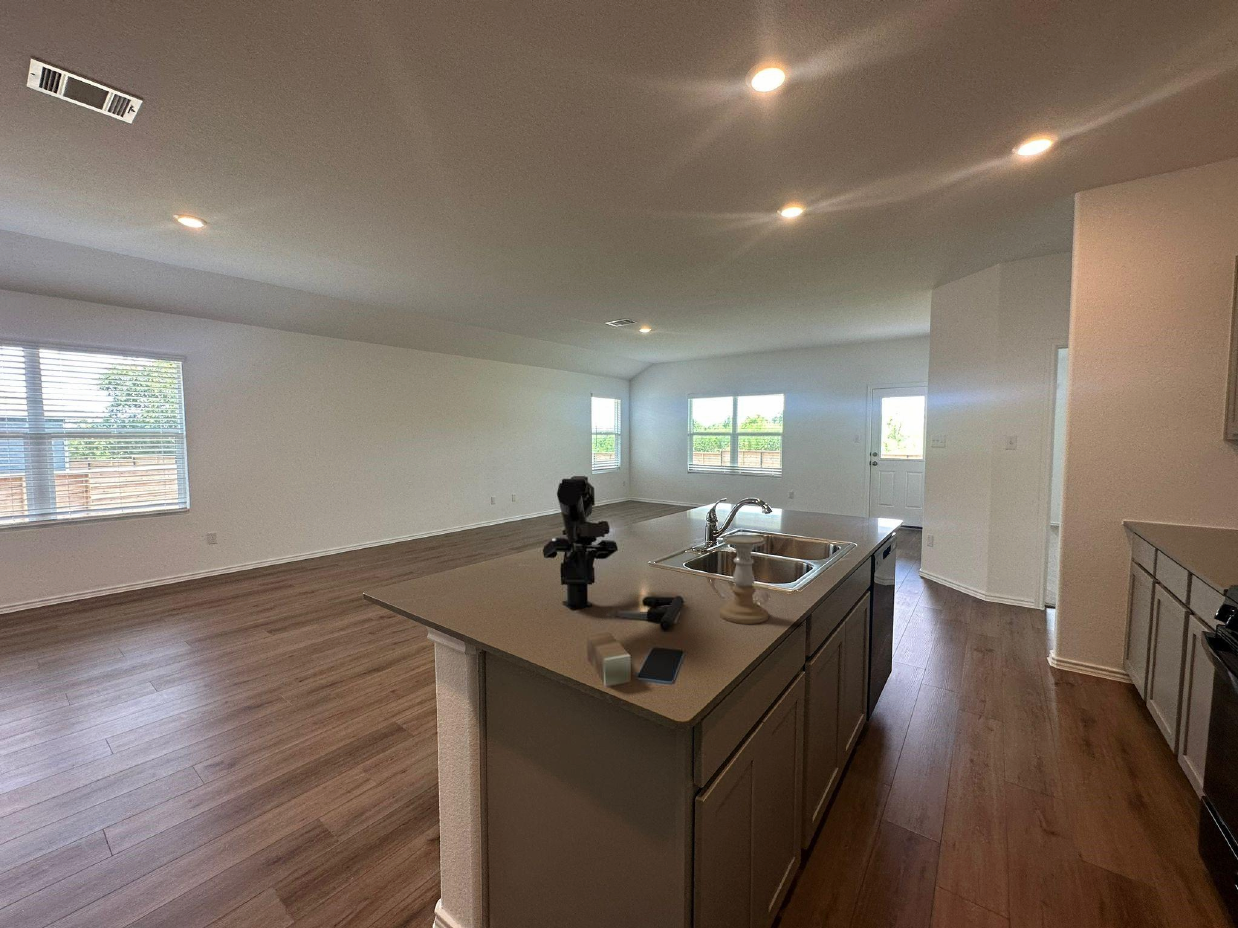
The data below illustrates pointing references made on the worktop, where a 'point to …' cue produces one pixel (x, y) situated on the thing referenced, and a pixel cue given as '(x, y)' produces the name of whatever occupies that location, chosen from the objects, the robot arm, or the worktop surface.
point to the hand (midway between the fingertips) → (588, 581)
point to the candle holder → (743, 583)
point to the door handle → (657, 611)
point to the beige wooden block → (608, 659)
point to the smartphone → (661, 665)
